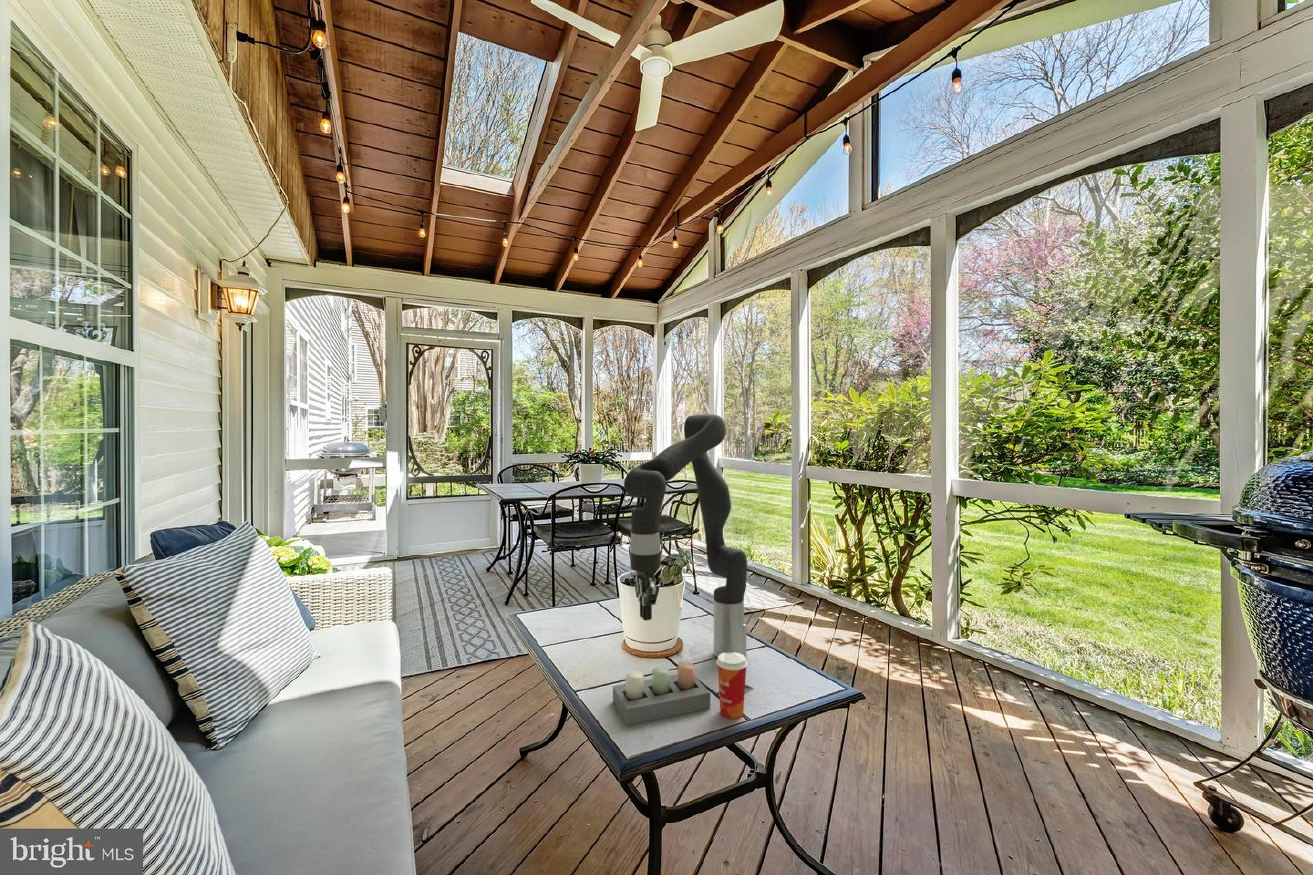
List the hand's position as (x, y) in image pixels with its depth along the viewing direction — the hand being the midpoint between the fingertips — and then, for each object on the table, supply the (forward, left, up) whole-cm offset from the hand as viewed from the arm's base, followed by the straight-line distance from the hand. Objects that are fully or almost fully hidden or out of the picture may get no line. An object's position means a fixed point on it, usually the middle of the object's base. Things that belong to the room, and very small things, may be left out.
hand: (645, 617), depth 140 cm
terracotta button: (-11, 0, -19) cm, 22 cm away
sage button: (-4, 0, -19) cm, 20 cm away
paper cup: (-19, +10, -23) cm, 32 cm away
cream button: (+3, 0, -19) cm, 19 cm away
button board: (-4, 0, -23) cm, 23 cm away
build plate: (-25, 0, -24) cm, 35 cm away
